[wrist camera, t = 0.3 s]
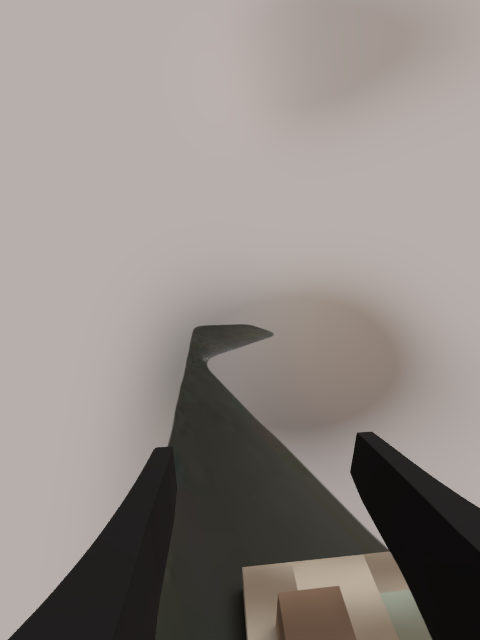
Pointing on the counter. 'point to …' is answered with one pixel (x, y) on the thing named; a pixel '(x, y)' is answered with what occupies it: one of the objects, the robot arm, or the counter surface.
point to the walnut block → (313, 615)
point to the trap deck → (357, 590)
